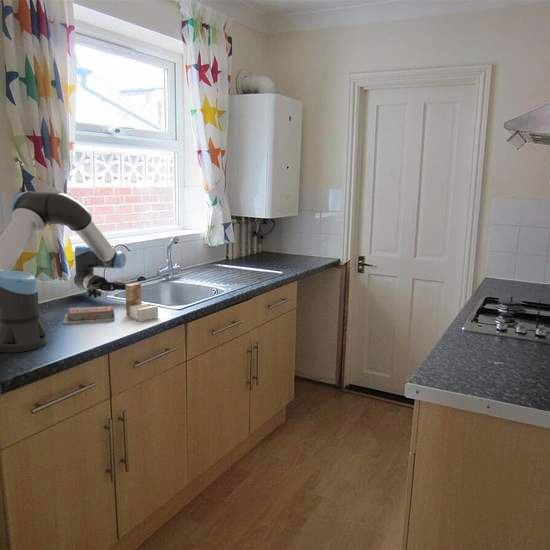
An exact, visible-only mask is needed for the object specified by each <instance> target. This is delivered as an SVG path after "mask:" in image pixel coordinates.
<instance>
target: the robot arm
mask: <svg viewBox="0 0 550 550" xmlns="http://www.w3.org/2000/svg"><path fill="white" fill-rule="evenodd" d="M10 213H11V218H12V220H11V221H10V223H9V224H8V226H7V227H6V229H5V230H4V231H3V233H2V234H1V235H0V352H1V353H23V352H29V351H33V350H36V349H37V350H38V349H39V348H42V347H44V346H46V344H47V343H48V340H47V339H48V336H47V334H46V331H45V329H44V326H43V324H42V322H41V320H40V308H39V292H38V291H39V287H38V282H37V278H36V276H35V275H33V274H32V273H29V272H26V271H23V270H22V271H21V270H12V268H13V266H15V264H16V262H17V261H18V260H19V258H20V257H21V255H22V253H23V252H24V251H25V249H26V248H27V247H28V245H29V243H30V242H31V241H32V238H33V237H34V236H35V235H36V234H39V233H41V232H43V230H44V229H45V228H46V226H48V225H63V226H66V227H67V228H68V229H70V230H71V231H73V232H75V233H76V234H77V235H78V236H79V237H80V239H81V240H82V241H83V242H84V243H85V244H81V245H76V246H75V248H74V261H75V263H74V264H75V265H74V266H75V272H76V275H75V277H74V283H75V285H76V286H75V285H74V286H75V287H77V288H78V289H82V290H84V291H85V290H86V292H87V293H88V297H92V296H93V298H97V297H99V298H103V299H108V292H109V291H110V292H114V291H115V290H117V291H126V286H125V284H132V283H133V282H129V281H128V282H123V281H116V280H115V281H112V282H111V281H108V280H107V279H106V278H105V277H103V276H101V275H97V274H94V273H95V271H94V270H95V269H94V268H98V269H99V268H100V269H113V270H117V269H119V270H121V269H124V267H125V265H126V262H127V257H126V254H125V253H124V252H123V251H119V250H117V251H116V250H115V248H114V247H113V246H112V244H111V243H110V242H109V241H108V239H107V238H106V237H105V235H104V234H103V232H102V231H101V230H100V229H99V227H98V226H97V225H96V223H95V221H93V219H92V218H93V217H92V214H91V212H90V211H89V210H88V208H86V206H85V205H83V203H81V202H80V201H79V200H77V199H76V198H74V197H73V196H71V195H68V194H66V193H62V192H45V191H30V190H29V191H22V192H20V193H18V194H17V195H15V196H14V198H13V200H12V202H11V207H10Z"/></svg>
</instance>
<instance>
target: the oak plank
mask: <svg viewBox="0 0 550 550" xmlns="http://www.w3.org/2000/svg"><path fill="white" fill-rule="evenodd" d="M131 283H132V284H125V286H126V290H125V306H126V307H125V308H126V315H127V316H129V317H130V307H129V306H134V305H139V304H143V303H142V283H139V282H131Z"/></svg>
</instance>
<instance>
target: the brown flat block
mask: <svg viewBox="0 0 550 550" xmlns="http://www.w3.org/2000/svg"><path fill="white" fill-rule="evenodd" d="M115 317H116V316H115V308H114V306H112V305H105V306H103V305H102V306H85V307H80V306H79V307H68V308H67V313H65V315H64V317H63V318H64V319H63V321H62V322H63V325H74V324H93V323H108V322H115Z"/></svg>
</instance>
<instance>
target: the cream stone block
mask: <svg viewBox="0 0 550 550" xmlns="http://www.w3.org/2000/svg"><path fill="white" fill-rule="evenodd" d="M129 307H130V316H129V318H130V319H133V320H135V321H137V322H144V321H148V319H149V320H152V318H154V319H157V318H156V317H158V318H159V306H158V305H152V306H151V305H150V303H149V302H145V303H142V304H139V305H134V306H129Z"/></svg>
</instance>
